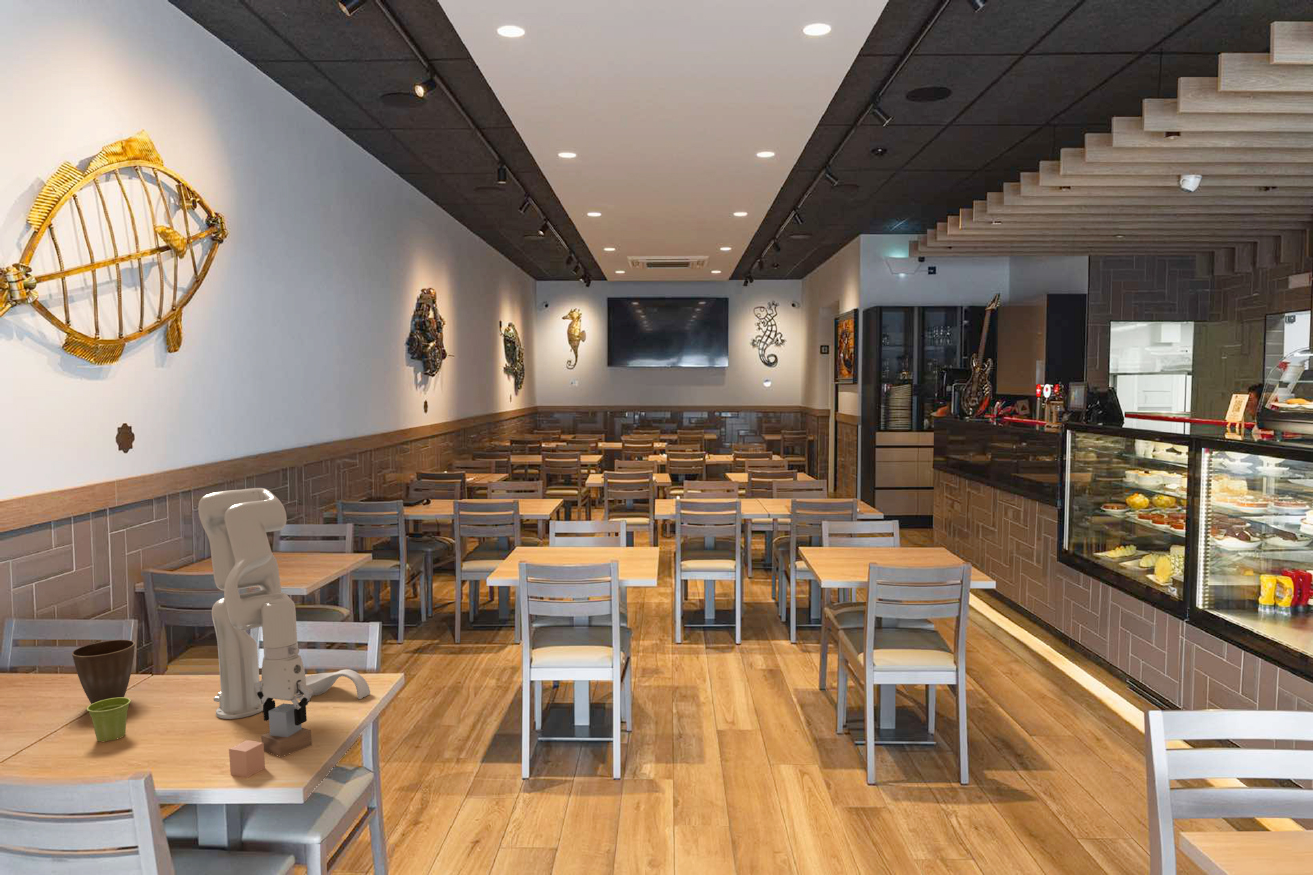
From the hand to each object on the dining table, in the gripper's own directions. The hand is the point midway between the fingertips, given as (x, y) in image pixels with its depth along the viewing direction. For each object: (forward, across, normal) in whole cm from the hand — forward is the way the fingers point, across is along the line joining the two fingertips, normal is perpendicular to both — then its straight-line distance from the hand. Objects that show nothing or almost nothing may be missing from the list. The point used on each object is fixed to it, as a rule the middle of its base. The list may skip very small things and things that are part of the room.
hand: (285, 720), depth 208 cm
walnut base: (+7, 0, 0) cm, 7 cm away
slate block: (+3, 0, 0) cm, 3 cm away
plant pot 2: (+7, +49, +9) cm, 50 cm away
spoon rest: (+7, +17, -33) cm, 38 cm away
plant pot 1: (+7, +74, -8) cm, 75 cm away
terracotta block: (+7, -2, +13) cm, 15 cm away
